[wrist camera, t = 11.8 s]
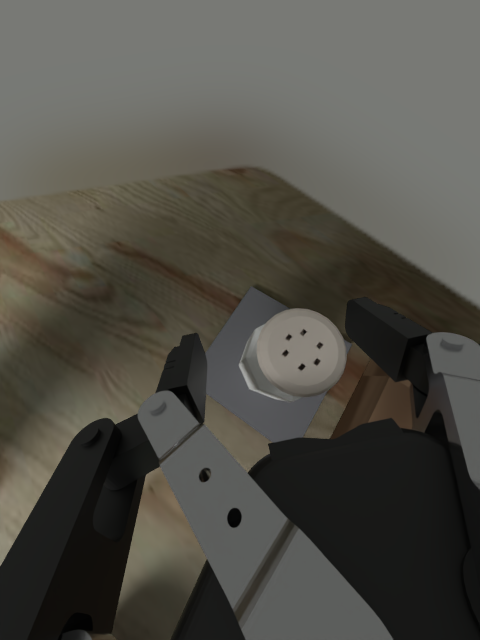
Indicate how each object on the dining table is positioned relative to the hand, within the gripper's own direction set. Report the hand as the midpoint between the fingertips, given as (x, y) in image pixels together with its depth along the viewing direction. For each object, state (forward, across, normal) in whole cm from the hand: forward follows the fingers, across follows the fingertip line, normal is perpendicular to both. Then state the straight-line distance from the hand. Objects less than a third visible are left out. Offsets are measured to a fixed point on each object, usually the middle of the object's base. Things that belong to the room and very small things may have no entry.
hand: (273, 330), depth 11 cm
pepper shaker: (+4, 0, +6) cm, 7 cm away
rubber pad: (+4, 0, +6) cm, 7 cm away
